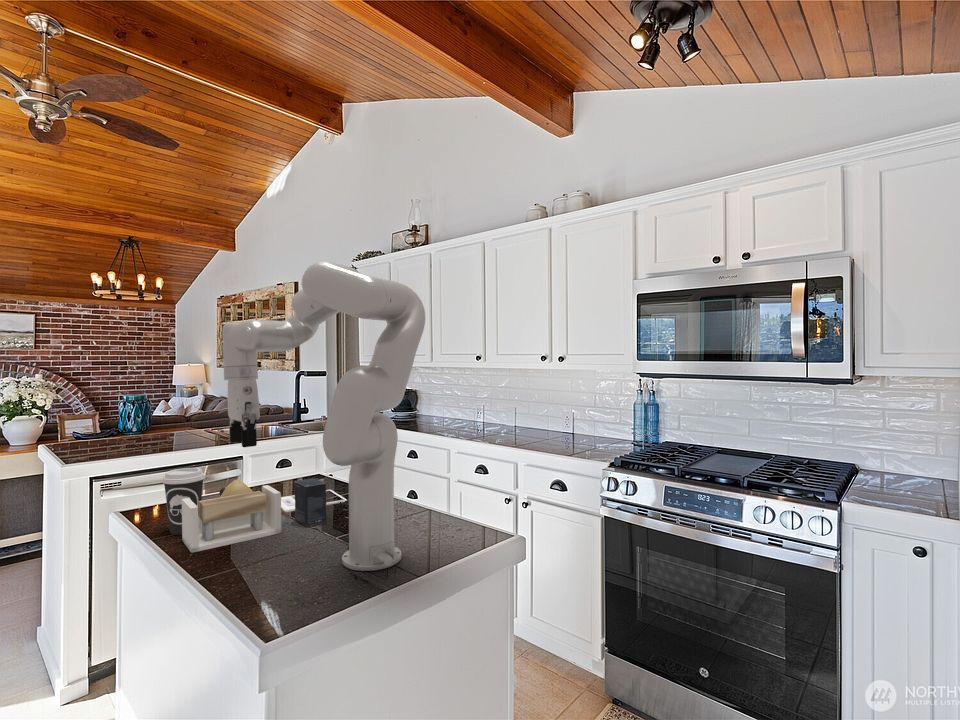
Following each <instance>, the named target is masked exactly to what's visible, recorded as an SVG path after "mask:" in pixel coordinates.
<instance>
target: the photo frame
mask: <svg viewBox="0 0 960 720" xmlns="http://www.w3.org/2000/svg"><path fill="white" fill-rule="evenodd" d="M328 492H331V493H333V494H334V495H336V496H337V497H339V498H341V499H340V500H334V501H329V502H328V501H327V502H326V506H328V505H329V506H330V505H334V504H340V502H341V503H346V502H345V501H347V502H348V499H346V498H345V497H344V496H342V495H340V494H338V493H337V492H335V491H334V490H333V489H326V493H328ZM281 511H284V513H289V512H295V494H293V495H288V496H281Z"/></svg>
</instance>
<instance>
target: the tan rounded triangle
mask: <svg viewBox="0 0 960 720" xmlns="http://www.w3.org/2000/svg"><path fill="white" fill-rule="evenodd" d="M250 492H254V491H253V490H252V489H251V488H250V487H249V486H248V485H247V484H246V483H245V482H243V481H241V480H239V479H233V481H232V482H230V483H229V484H227V485H226V486H225V487H223V488H221V489H220V490H219V498H220V497H226V496H232V495H238V494H244V493H250Z"/></svg>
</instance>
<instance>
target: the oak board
mask: <svg viewBox="0 0 960 720" xmlns="http://www.w3.org/2000/svg"><path fill="white" fill-rule="evenodd" d="M263 511H266V495H265V494H264V493H262V490H261V491H260V490H257V491H253V492H250V493H244V494H238V495H232V496H226V497H220V496H219V497H215V498H210V499H204V500H201V501H199V518H200V519H201V520H202V521H203V522H204V523H206V522H211V521H216V520H221V519H227V518H232V517H237V516H242V515H247V514H253V513H258V512H263Z"/></svg>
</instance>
